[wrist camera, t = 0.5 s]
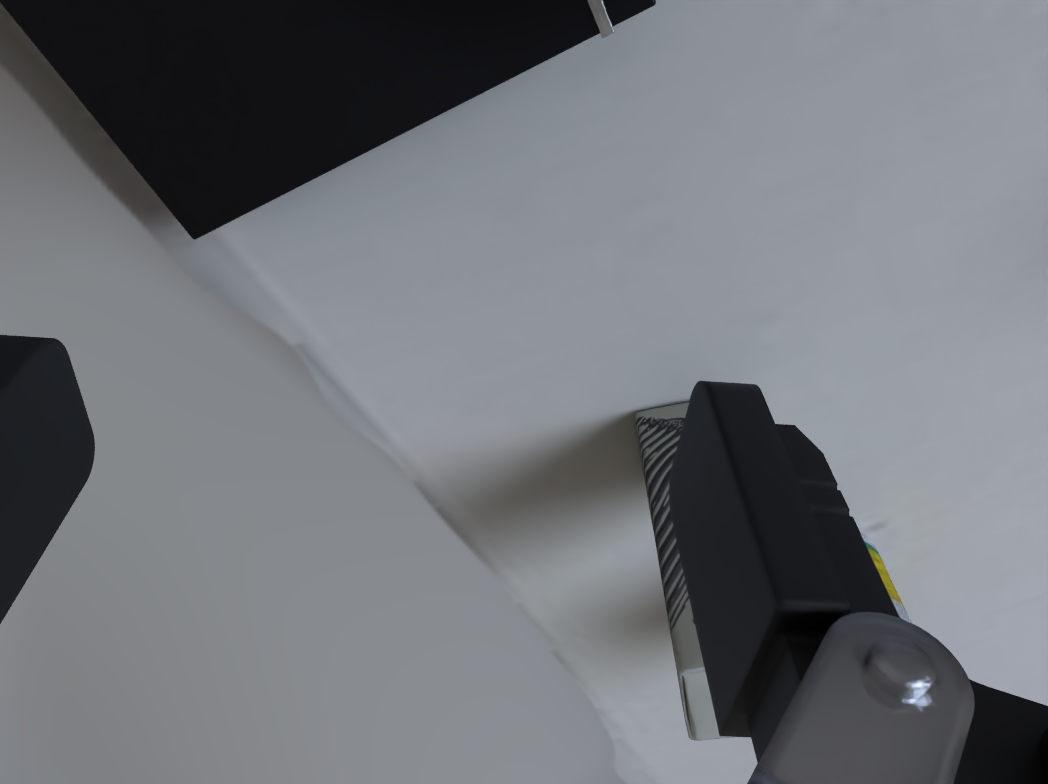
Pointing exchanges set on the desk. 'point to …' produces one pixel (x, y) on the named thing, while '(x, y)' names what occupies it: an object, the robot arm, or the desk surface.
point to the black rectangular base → (285, 80)
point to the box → (674, 565)
